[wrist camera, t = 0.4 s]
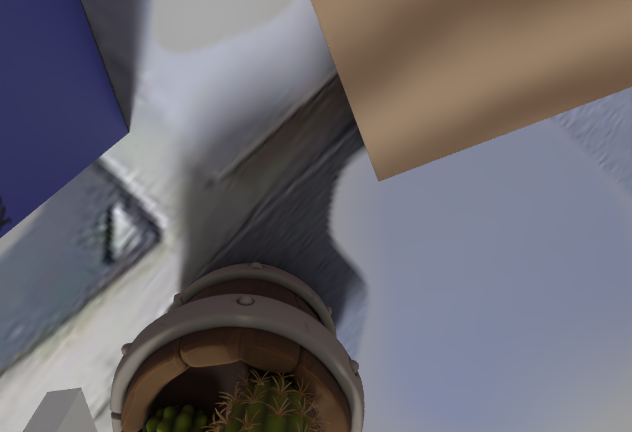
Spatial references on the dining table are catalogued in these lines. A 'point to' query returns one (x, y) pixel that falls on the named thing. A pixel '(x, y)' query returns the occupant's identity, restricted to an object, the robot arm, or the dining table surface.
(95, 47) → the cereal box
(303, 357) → the flowerpot
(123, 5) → the dining table surface
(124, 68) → the dining table surface
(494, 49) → the walnut block
